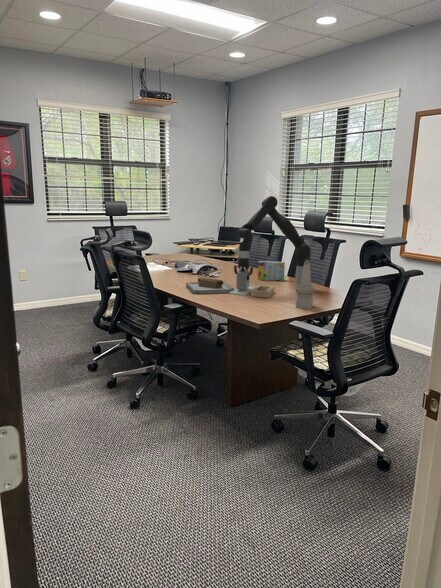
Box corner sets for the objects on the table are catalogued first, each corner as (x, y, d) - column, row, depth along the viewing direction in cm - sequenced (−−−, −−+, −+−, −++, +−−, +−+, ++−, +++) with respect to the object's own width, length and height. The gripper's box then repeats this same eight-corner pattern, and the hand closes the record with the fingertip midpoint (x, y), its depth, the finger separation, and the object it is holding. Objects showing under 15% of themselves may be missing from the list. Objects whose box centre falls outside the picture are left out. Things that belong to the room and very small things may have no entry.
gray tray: (193, 295, 299) (193, 284, 298) (185, 286, 327) (185, 276, 326) (235, 293, 307) (235, 283, 305) (223, 285, 335) (224, 275, 333)
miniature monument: (312, 308, 268) (315, 260, 261) (294, 307, 270) (297, 259, 263) (313, 304, 277) (316, 258, 271) (296, 303, 280) (299, 257, 273)
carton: (274, 292, 312) (275, 285, 311) (268, 298, 293) (268, 291, 292) (258, 290, 316) (258, 284, 315) (250, 296, 297) (250, 290, 296)
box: (249, 286, 317) (249, 270, 314) (244, 289, 306) (245, 273, 303) (241, 285, 319) (241, 269, 316) (236, 289, 308) (236, 272, 305)
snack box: (283, 279, 358) (284, 261, 355) (283, 281, 352) (284, 262, 349) (257, 278, 360) (258, 260, 356) (257, 280, 354) (258, 261, 351)
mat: (255, 288, 323) (255, 286, 323) (245, 295, 299) (245, 294, 299) (239, 286, 327) (240, 285, 327) (229, 293, 303) (229, 292, 303)
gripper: (255, 256, 309) (254, 280, 313) (235, 255, 313) (235, 278, 317) (252, 258, 302) (251, 282, 306) (232, 257, 306) (231, 280, 310)
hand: (243, 280), depth 311 cm, fingers closed on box, 6 cm apart
